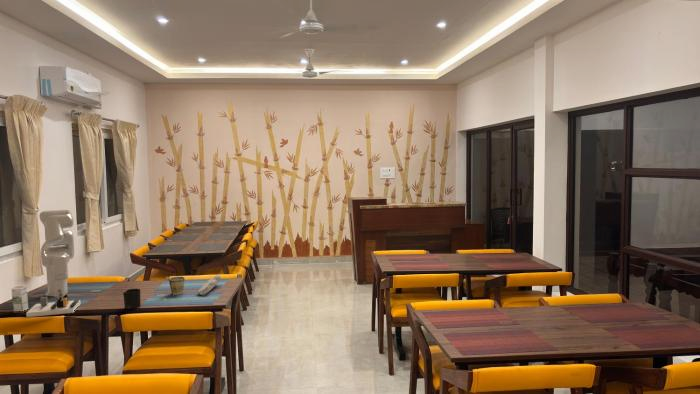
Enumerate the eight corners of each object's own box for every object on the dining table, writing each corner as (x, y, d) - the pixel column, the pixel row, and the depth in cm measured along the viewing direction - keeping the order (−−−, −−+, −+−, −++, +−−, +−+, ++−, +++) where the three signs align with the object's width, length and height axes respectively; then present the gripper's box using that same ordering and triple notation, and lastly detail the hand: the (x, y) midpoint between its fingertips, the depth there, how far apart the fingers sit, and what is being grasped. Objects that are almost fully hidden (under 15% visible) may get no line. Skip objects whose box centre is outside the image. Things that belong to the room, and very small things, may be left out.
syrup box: (28, 309, 301) (27, 285, 300) (22, 312, 296) (21, 288, 294) (19, 309, 301) (17, 285, 300) (12, 312, 295) (10, 288, 294)
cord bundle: (57, 302, 305) (57, 299, 305) (79, 300, 309) (79, 297, 308) (50, 310, 291) (50, 306, 291) (73, 308, 294) (73, 304, 294)
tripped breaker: (61, 305, 298) (61, 297, 298) (67, 304, 299) (67, 297, 299) (60, 306, 296) (60, 299, 295) (66, 306, 297) (65, 298, 296)
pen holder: (121, 307, 302) (120, 290, 302) (137, 303, 309) (136, 287, 308) (127, 310, 296) (126, 293, 295) (143, 306, 302) (142, 290, 301)
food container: (224, 279, 352) (220, 272, 352) (211, 294, 323) (207, 286, 322) (209, 286, 353) (205, 279, 353) (196, 301, 324) (191, 294, 323)
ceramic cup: (180, 295, 325) (179, 280, 324) (166, 295, 327) (165, 280, 326) (190, 290, 338) (189, 275, 337) (176, 289, 340) (176, 275, 339)
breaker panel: (36, 307, 304) (36, 303, 304) (80, 303, 311) (80, 299, 311) (26, 317, 287) (26, 312, 287) (73, 312, 294) (73, 308, 293)
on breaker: (42, 304, 301) (41, 297, 300) (47, 304, 301) (47, 296, 301) (40, 305, 298) (40, 298, 298) (46, 305, 299) (46, 297, 299)
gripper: (57, 273, 300) (59, 301, 302) (49, 280, 283) (51, 310, 285) (71, 272, 302) (73, 300, 304) (63, 279, 286) (66, 308, 287)
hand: (62, 305), depth 294 cm, fingers open, 9 cm apart
